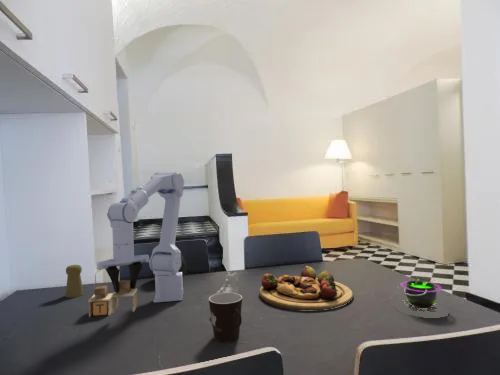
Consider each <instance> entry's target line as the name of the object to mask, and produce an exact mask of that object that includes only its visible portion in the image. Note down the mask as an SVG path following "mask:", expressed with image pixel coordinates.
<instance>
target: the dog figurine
mask: <svg viewBox="0 0 500 375" xmlns="http://www.w3.org/2000/svg"><path fill="white" fill-rule="evenodd" d="M238 281H239V278H238V273H237V272H233V273H232V274H231V272H230V271H226V273H225V276H224V283H223V285H222V286H221V287H220V289H219V290H217V291H216V292H215V294H219V293H237V294H239V293H238V292H239V291H238V287H237V284H238Z"/></svg>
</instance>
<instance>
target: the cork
mask: <svg viewBox="0 0 500 375" xmlns="http://www.w3.org/2000/svg"><path fill="white" fill-rule="evenodd" d="M82 270H83V269H82V266H81V265H80V264H71V265H68V266H67V267H66V268H65V274H66V275H67V280H66V287H65V298H69V299H72V298H73V299H74V298H78V297H82V296H84V288H83V283H82V277H81V273H82Z"/></svg>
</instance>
